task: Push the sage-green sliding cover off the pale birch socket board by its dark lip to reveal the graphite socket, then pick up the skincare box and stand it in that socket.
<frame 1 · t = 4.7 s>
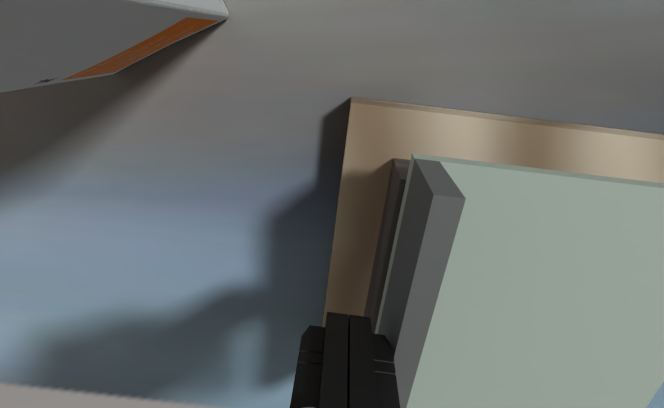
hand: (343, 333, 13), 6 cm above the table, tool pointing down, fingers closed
socket board: (470, 255, 19), on the table
cover: (552, 348, 13), point 6 cm above the table, slide at 1.2 cm, touching gripper
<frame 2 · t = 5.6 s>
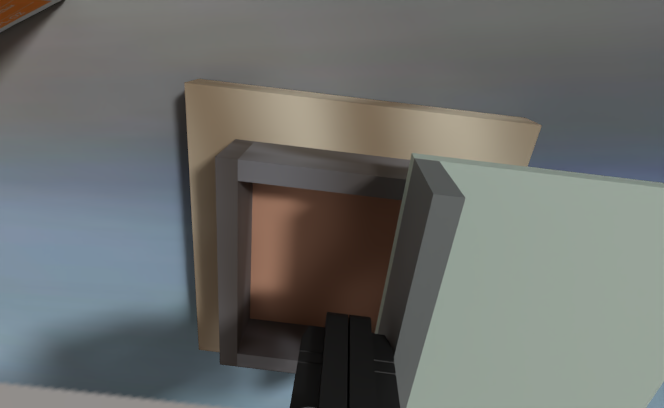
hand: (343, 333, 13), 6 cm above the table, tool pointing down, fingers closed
socket board: (342, 240, 19), on the table
cover: (552, 347, 13), point 6 cm above the table, slide at 7.7 cm, touching gripper
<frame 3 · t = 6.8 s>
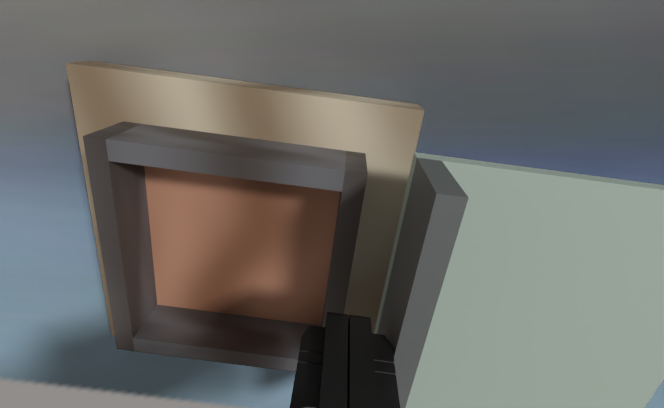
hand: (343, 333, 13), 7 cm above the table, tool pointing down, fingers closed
socket board: (250, 227, 19), on the table
cover: (551, 348, 13), point 6 cm above the table, slide at 12.4 cm, touching gripper
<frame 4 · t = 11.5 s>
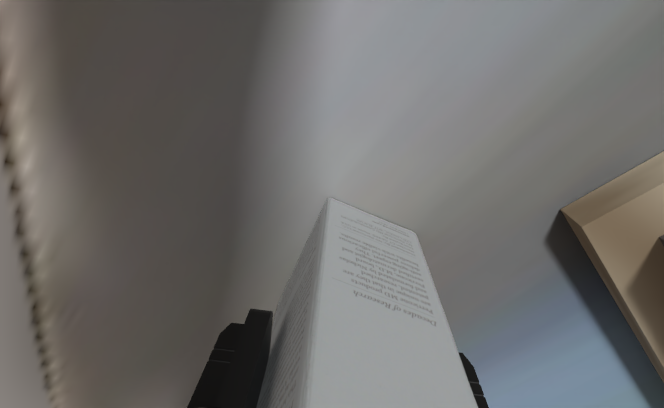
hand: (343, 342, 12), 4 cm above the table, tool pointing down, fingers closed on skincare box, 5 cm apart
skincare box: (346, 264, 17), on the table, touching gripper
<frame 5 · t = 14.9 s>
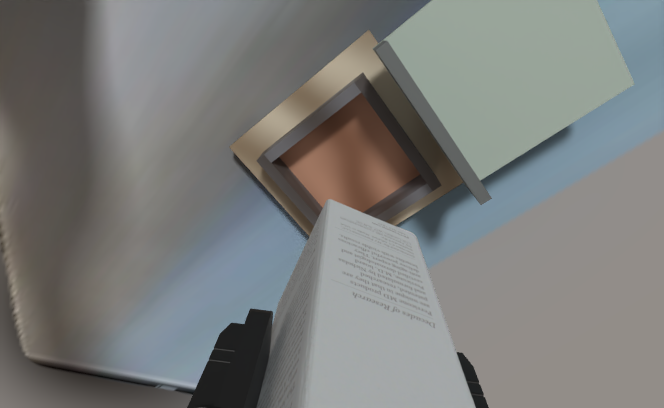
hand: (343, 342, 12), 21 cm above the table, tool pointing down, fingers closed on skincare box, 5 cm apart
socket board: (349, 157, 31), on the table
cover: (511, 67, 23), point 6 cm above the table, slide at 12.4 cm
skincare box: (345, 265, 17), point 16 cm above the table, touching gripper
when the fingers open (7 cm above the table, at t = 18.5 s): skincare box stays where it is, resting on socket board.
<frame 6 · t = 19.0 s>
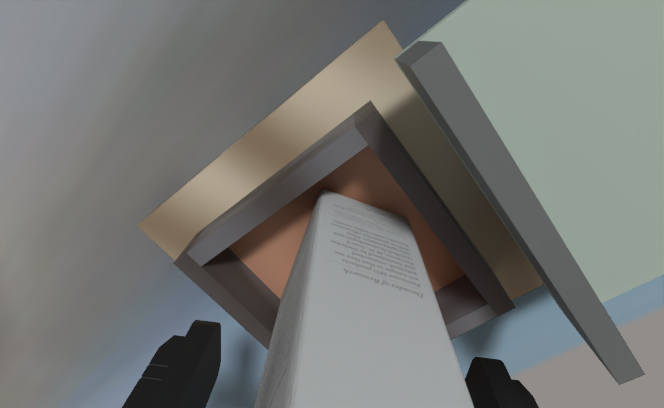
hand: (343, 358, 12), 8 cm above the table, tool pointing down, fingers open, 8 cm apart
socket board: (346, 237, 19), on the table
skincare box: (344, 252, 17), point 2 cm above the table, touching socket board
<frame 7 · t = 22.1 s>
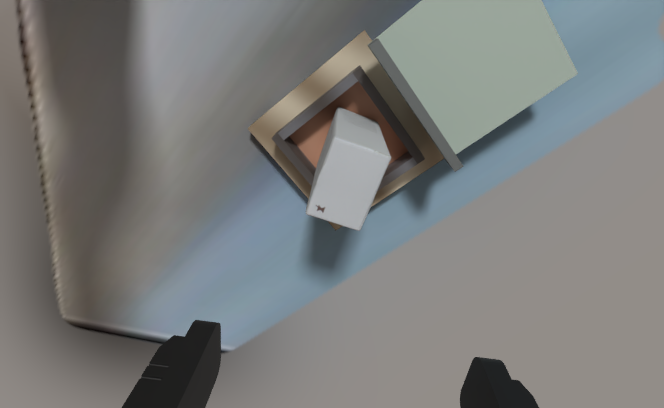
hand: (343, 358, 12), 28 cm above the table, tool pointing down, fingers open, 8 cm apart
socket board: (348, 137, 37), on the table
cover: (477, 60, 28), point 6 cm above the table, slide at 12.4 cm
skincare box: (347, 141, 36), point 2 cm above the table, touching socket board
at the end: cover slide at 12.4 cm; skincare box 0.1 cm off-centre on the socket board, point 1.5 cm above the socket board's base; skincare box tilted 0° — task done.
